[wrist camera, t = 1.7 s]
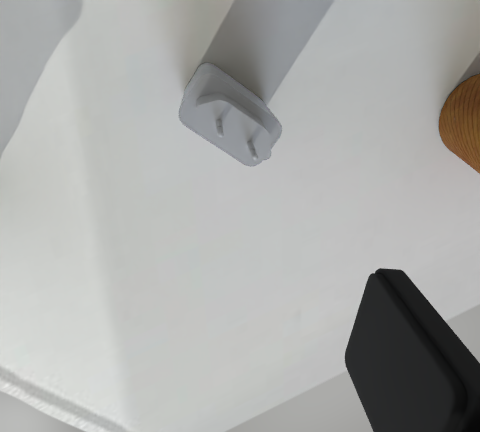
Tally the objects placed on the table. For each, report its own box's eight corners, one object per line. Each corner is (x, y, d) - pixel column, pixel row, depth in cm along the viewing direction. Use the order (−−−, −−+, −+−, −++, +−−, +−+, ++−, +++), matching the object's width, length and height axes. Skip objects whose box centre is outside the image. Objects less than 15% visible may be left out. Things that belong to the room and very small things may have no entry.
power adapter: (243, 139, 29) (266, 205, 19) (180, 97, 28) (165, 141, 17) (268, 104, 28) (308, 151, 18) (204, 57, 27) (205, 77, 16)
